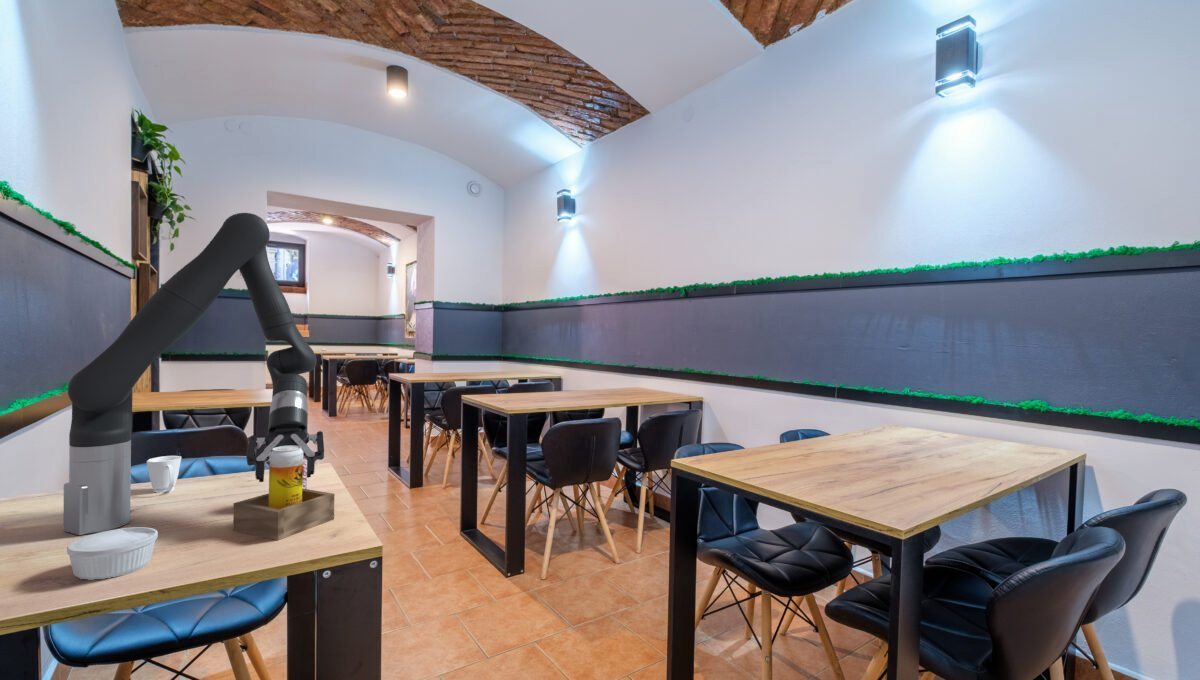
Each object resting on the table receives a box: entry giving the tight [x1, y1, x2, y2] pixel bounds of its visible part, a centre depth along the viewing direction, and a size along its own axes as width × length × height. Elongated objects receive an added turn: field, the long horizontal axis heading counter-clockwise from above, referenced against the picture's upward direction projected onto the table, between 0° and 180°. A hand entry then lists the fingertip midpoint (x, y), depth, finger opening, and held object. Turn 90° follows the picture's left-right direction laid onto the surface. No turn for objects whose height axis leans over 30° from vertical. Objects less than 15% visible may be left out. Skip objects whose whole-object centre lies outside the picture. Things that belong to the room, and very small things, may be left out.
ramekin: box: [66, 526, 159, 581], centre depth 89 cm, size 11×11×5 cm
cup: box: [146, 455, 182, 494], centre depth 133 cm, size 7×10×8 cm
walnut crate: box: [232, 488, 335, 541], centre depth 111 cm, size 13×13×6 cm
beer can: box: [268, 446, 303, 509], centre depth 111 cm, size 6×6×15 cm
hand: (285, 477), depth 110 cm, fingers open, 8 cm apart
